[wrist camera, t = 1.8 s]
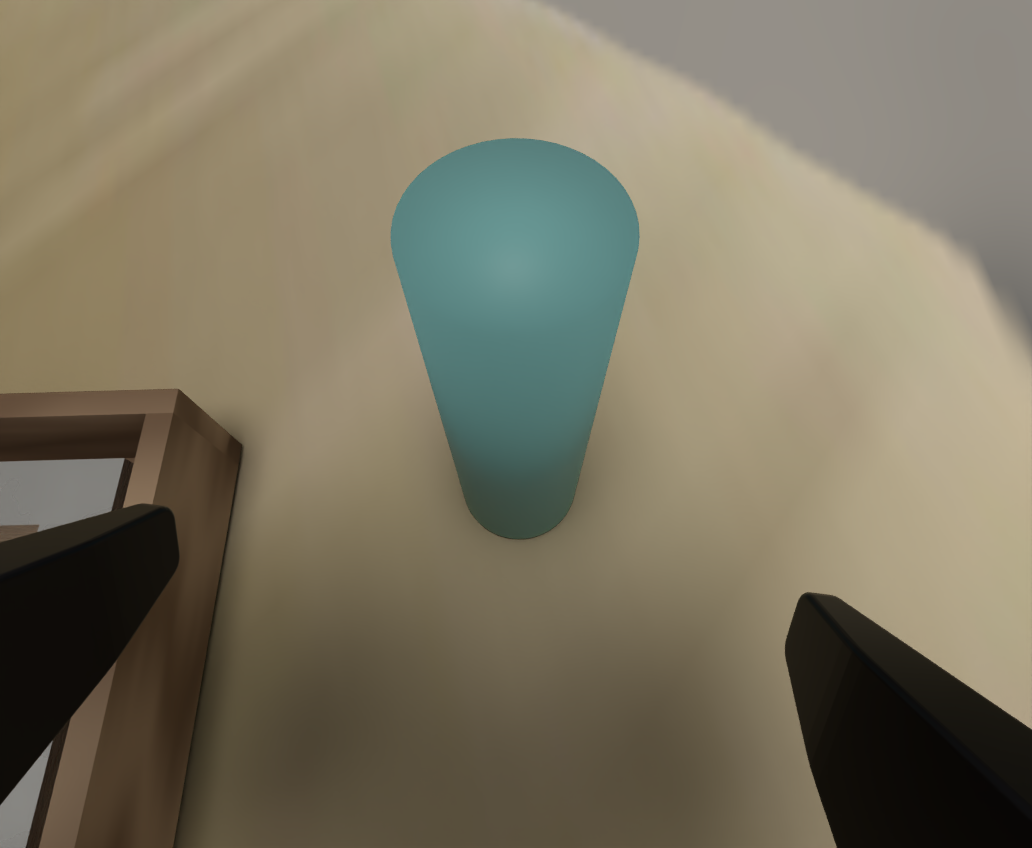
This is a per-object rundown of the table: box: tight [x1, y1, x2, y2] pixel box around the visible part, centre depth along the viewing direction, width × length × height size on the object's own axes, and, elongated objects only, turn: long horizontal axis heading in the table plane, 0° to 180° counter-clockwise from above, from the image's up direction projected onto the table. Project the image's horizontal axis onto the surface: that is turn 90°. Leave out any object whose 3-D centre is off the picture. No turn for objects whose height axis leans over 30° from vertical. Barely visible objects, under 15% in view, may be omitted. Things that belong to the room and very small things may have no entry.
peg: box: [391, 138, 639, 539], centre depth 16 cm, size 4×4×13 cm
